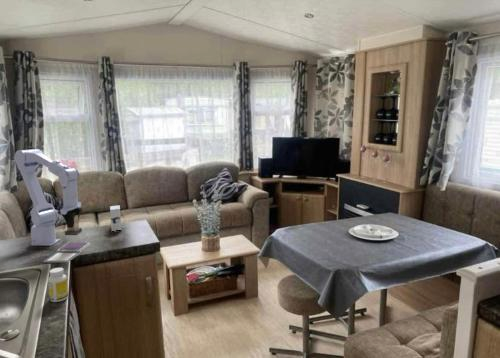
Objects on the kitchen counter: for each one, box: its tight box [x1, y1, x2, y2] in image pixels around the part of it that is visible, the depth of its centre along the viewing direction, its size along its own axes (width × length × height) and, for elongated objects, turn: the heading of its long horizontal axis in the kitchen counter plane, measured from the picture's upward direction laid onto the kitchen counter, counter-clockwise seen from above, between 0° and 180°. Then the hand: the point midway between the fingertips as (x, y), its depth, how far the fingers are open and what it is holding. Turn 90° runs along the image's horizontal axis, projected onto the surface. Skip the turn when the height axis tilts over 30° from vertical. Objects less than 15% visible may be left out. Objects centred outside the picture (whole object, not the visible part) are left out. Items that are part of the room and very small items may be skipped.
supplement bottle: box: [47, 267, 69, 303], centre depth 119 cm, size 5×5×10 cm
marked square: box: [43, 251, 81, 263], centre depth 154 cm, size 10×10×1 cm
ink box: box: [109, 204, 122, 232], centre depth 192 cm, size 8×5×12 cm, turn 21°
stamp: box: [64, 215, 83, 236], centre depth 163 cm, size 5×5×8 cm
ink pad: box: [56, 241, 91, 254], centre depth 165 cm, size 10×10×1 cm
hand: (72, 225), depth 163 cm, fingers closed on stamp, 3 cm apart
